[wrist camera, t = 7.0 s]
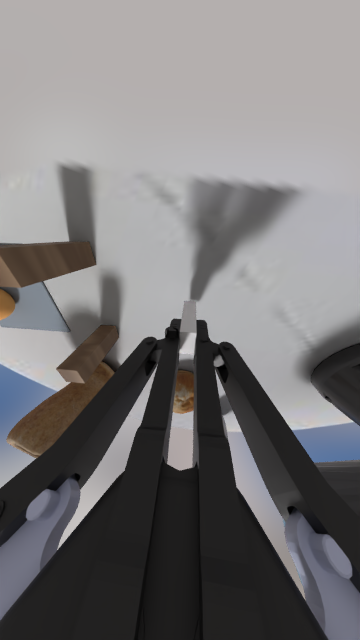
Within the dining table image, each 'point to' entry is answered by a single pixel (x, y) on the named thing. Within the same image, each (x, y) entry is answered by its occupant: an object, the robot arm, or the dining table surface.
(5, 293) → the ball
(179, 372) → the bread roll
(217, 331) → the dining table surface
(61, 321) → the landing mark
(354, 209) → the dining table surface
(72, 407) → the brown boot
